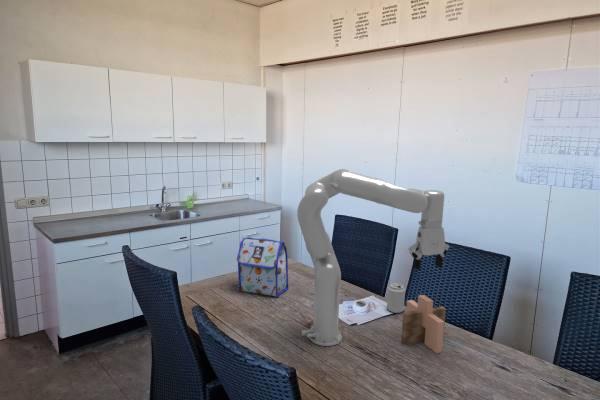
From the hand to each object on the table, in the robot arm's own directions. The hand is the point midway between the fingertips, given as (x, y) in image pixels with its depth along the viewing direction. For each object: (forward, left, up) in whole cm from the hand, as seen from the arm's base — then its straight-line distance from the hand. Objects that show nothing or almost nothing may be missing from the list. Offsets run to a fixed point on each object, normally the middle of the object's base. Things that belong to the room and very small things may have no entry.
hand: (427, 267), depth 152 cm
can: (+4, +26, -29) cm, 39 cm away
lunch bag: (-48, +65, -29) cm, 86 cm away
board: (0, 0, -29) cm, 29 cm away
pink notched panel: (0, 0, -29) cm, 29 cm away
